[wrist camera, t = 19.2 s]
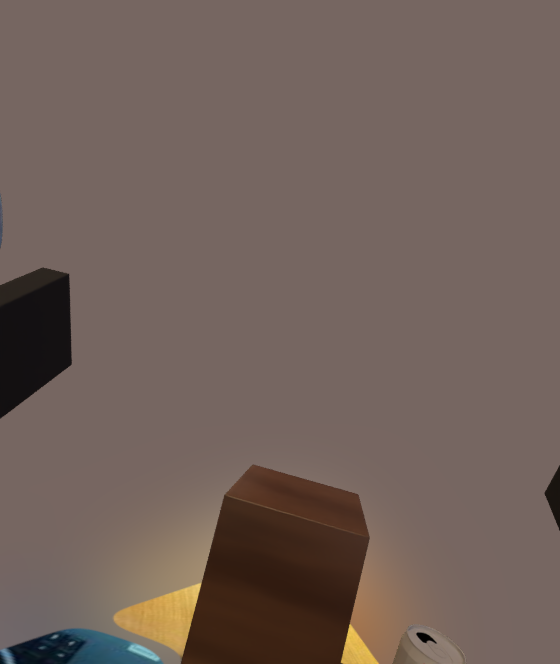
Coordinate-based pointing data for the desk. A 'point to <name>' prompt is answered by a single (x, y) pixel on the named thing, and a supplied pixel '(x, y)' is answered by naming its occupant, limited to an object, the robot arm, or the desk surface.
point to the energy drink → (427, 648)
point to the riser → (279, 574)
